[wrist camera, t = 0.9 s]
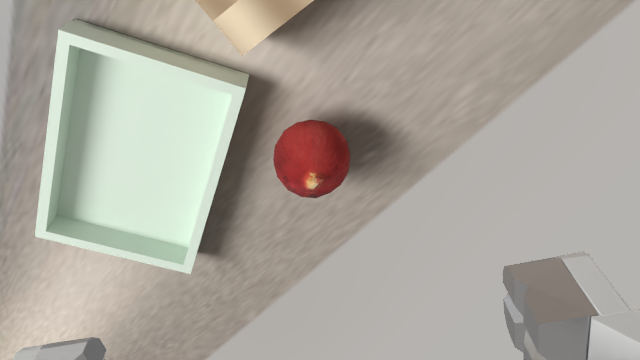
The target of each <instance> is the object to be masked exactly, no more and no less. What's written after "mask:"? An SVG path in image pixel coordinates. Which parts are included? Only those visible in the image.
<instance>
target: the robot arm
mask: <svg viewBox="0 0 640 360" xmlns="http://www.w3.org/2000/svg"><path fill="white" fill-rule="evenodd" d="M503 283H504V285H505V287H506V289H507V291H508V294H507V296H506V297H505V298H504V314H505V319H506V324H507V327H508V330H509V334H510V337H511V339H512V341H513V343H514V345H515V348H517V349H518V350H520V351H522V352H523V353H524V360H640V309H637V310H631V309H630V308H629V307H628V306H627V304H626V303H625V302H624V300H623V299H622V298H621V297H620V295H619V294H618V292H617V291H616V290H615V289H614V287H613V286H612V285H611V284H610V282H609V281H608V279H607V278H606V277H605V276H604V274H603V273H602V272H601V270H600V269H599V268H598V266H597V265H596V264H595V262H594V261H593V260H592V258H591V257H590V256H589V255H588V254H587V253H585V252H578V253H573V254H567V255H562V256H557V257H556V258H555V257H553V258H548V259H543V260H537V261H531V262H526V263H520V264H515V265H509V266H505V267H504V270H503ZM105 352H106V348H105V347H104V345H103V343H102V342H101V340H100V339H99V338H94V337H91V338H85V339H78V340H71V341H64V342H57V343H51V344H46V345H41V346H34V347H27V348H23V349H21V350H20V351H19V352H17V353H16V354H15V356H14V358H13V360H105V359H103V358H104V355H105Z"/></svg>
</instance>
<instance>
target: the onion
mask: <svg viewBox="0 0 640 360" xmlns="http://www.w3.org/2000/svg"><path fill="white" fill-rule="evenodd" d="M273 160H274V166H275V170H276V173H277V177H278V178H279V179H280V181H281V182H282V183H283V184H284V186H285V187H286V188H287V189H288V190H289V191H291V192H293V193H295V194H297V195H299V196H301V197H309V198H318V197H320V196H322V195H325V194H328V193H330V192H332V191H333V190H334V189H336V188H337V187H338V186H340V185H341V183H342V182H343V180H344V179H345V177H346V175H347V173H348V171H349V163H350V152H349V148H348V144H347V141H346V139H345V137H344V136H343V135H342V134H341V132H340V131H339V130H338V129H337V128H336V127H334V126H332V125H330V124H328V123H326V122H323V121H315V120H308V121H303V122H298V123H295V124H294V125H292V126H291V127H289V128H287V129H286V130H285V131H284V132H283V134H282V135H281V137H280V139H279V140H278V142H277V144H276V145H275V150H274V159H273Z"/></svg>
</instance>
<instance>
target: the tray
mask: <svg viewBox="0 0 640 360" xmlns="http://www.w3.org/2000/svg"><path fill="white" fill-rule="evenodd" d="M248 78H249V74H246V73H243V72H240V71H237V70H234V69H231V68H227V67H224V66H221V65H218V64H215V63H212V62H209V61H206V60H202V59H199V58H196V57H193V56H190V55H187V54H184V53H180V52H177V51H174V50H171V49H168V48H165V47H162V46H159V45H155V44H152V43H149V42H146V41H143V40H140V39H137V38H134V37H130V36H127V35H124V34H121V33H118V32H115V31H112V30H109V29H105V28H102V27H99V26H96V25H93V24H90V23H87V22H83V21H80V20H77V19H73V20H72V21H70V22H69V23H68V24H66V25H65V26H63V27H62V28H60V29H59V31H58V39H57V48H56V57H55V65H54V74H53V83H52V92H51V100H50V109H49V118H48V126H47V135H46V144H45V152H44V161H43V170H42V178H41V187H40V196H39V204H38V213H37V222H36V230H35V237H39V238H43V239H47V240H52V241H56V242H60V243H64V244H68V245H72V246H76V247H81V248H85V249H89V250H93V251H97V252H101V253H105V254H110V255H114V256H118V257H122V258H126V259H130V260H134V261H139V262H143V263H147V264H151V265H155V266H159V267H163V268H168V269H172V270H176V271H180V272H184V273H188V274H191V271H192V267H193V264H194V261H195V257H196V254H197V251H198V247H199V244H200V241H201V237H202V234H203V231H204V227H205V224H206V221H207V217H208V214H209V211H210V207H211V204H212V201H213V197H214V194H215V191H216V187H217V184H218V181H219V177H220V174H221V171H222V167H223V164H224V160H225V157H226V154H227V150H228V147H229V144H230V140H231V137H232V134H233V130H234V127H235V124H236V120H237V117H238V114H239V110H240V107H241V104H242V100H243V97H244V94H245V90H246V87H247V82H248Z"/></svg>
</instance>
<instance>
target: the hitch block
mask: <svg viewBox="0 0 640 360" xmlns="http://www.w3.org/2000/svg"><path fill="white" fill-rule="evenodd" d="M312 1H314V0H196V2H197V3H198V4H199V5H200V6H201V8H202V9H203V10H204V11H205V12H206V13H207V15H208V16H209V17H210V18H211V19H212V21H213V22H214V23H215V24H216V25H217V27H218V28H219V29H220V30H221V31H222V32H223V34H224V35H225V36H226V37H227V38H228V40H229V41H230V42H231V43H232V44H233V46H234V47H235V48H236V49H237V50H238V51H239V53H240V54H241V55H242V56H243V55H244V54H245V53H247V52H248V51H249V50H251V49H252V48H253V47H254V46H256V45H257V44H258V43H260V42H261V41H262V40H263V39H265V38H266V37H267V36H269V35H270V34H271V33H272V32H274V31H275V30H276V29H278V28H279V27H280V26H282V25H283V24H284V23H285V22H287V21H288V20H289V19H291V18H292V17H293V16H294V15H296V14H297V13H298V12H300V11H301V10H302V9H303V8H305V7H306V6H307V5H309V4H310V3H311V2H312Z"/></svg>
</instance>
